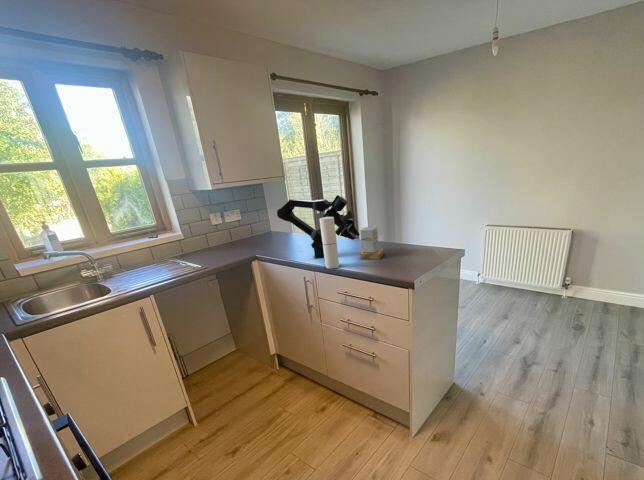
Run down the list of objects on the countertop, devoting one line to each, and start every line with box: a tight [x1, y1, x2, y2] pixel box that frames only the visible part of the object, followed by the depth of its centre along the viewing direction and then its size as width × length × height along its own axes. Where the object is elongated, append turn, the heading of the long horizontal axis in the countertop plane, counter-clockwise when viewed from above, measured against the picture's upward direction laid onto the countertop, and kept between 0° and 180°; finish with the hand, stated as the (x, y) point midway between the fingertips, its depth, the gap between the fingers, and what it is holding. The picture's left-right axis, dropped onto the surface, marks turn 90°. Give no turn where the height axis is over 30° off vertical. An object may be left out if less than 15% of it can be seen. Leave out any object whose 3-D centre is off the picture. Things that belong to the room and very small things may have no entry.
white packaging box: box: [359, 226, 379, 253], centre depth 171 cm, size 7×7×13 cm
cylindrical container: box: [319, 216, 340, 270], centre depth 159 cm, size 7×7×25 cm
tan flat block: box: [359, 248, 385, 260], centre depth 173 cm, size 11×10×3 cm
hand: (356, 237), depth 172 cm, fingers open, 9 cm apart
